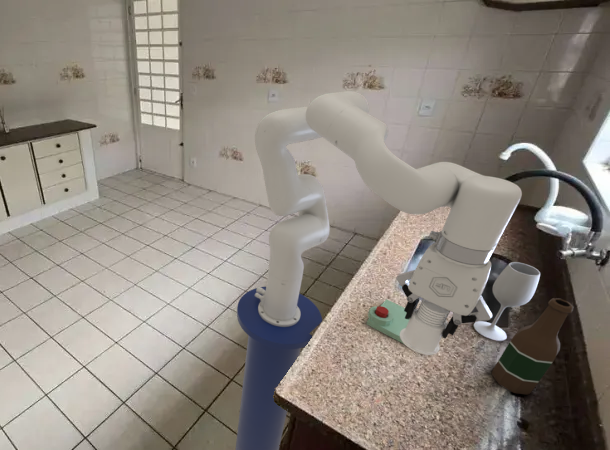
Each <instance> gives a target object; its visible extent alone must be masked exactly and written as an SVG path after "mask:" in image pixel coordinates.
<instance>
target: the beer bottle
mask: <svg viewBox="0 0 610 450" xmlns="http://www.w3.org/2000/svg"><path fill="white" fill-rule="evenodd" d="M547 304H548V306H547V307H546V308H545V310H544V311H543V312H542V313H541V315H540V316H539V317H538V319H537V320H536V321H535V322H534V323H532V324H530V325H525V326H522V327H521V328H519V329H518V330H517V331H516V333H515V334H514V335H513V336H512V338H511V339H510V341H509V342H508V344H507V346H506V347H505V349H504V350H503V352H502V354H501V355H500V357H499V359H498V361H497V362H496V364H495V365H494V367H493V369H492V371H491V376H492V377H493V379H494V380H495V382H496V383H497V384H498V385H499V386H501V387H502V388H504V389H506V390H508V391H509V392H512V393H513V394H519V395H530V394H531V393H532V392H533V391H534V389H535V388H536V386H537V385H538V383H539V382H540V381H541V380H542V378H543V376H545V374H546V373H547V371H548V370H549V368H550V367H551V366H552V364H554V363H553V362H554V361H555V359H556V358H557V355H558V354H559V352H560V350H561V342H560V338H559V336H558V334H559V332H560V329H561V328H562V326H563V324H564V322H565V320H566V318H567V317H568V315H569V314H571V313H573V311H574V305H573V304H572V303H571V302H569V301H567V300H565V299H562V298H559V297H558V298H557V297H556V298H555V297H553V298H551V299H549V301H548V302H547Z"/></svg>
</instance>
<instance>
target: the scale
mask: <svg viewBox="0 0 610 450" xmlns="http://www.w3.org/2000/svg"><path fill="white" fill-rule="evenodd" d="M380 306H382V307H385V308H387V309H388V311H389V312H388V315H387V317H386V318H381V317H378V316H377V315H376V314H375V311H376V308H377V307H378V306H377V305H375V306H371V307H370V308H369V309H368V313H367V317H368V319H367V321H366V325H367V326H368V327H371V328H373V329H374V330H377V331H378V332H380V333H382V334H383V335H386V336H387V337H390V338H392V339H394V340H395V341H397V342H399V343H401V344H402V345H405V344H404V343H403V342H402V340H401V338H400V332H401V330H402V329H404V328H406V327H407V324H408V322H409V320H410V319H405V316H406V314H407V312H405V311H404V309H405V307H404V306H402V305H399V304H398V303H395V302H393V301H392V300H389V299H387V298H386V299H385V300H384V301H383V303H381V305H380Z"/></svg>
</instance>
